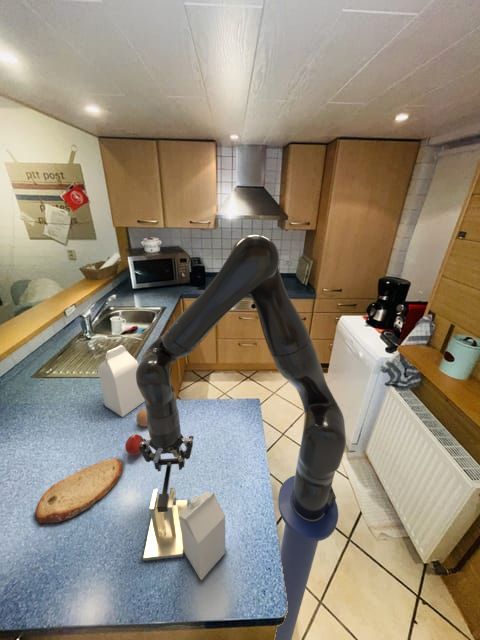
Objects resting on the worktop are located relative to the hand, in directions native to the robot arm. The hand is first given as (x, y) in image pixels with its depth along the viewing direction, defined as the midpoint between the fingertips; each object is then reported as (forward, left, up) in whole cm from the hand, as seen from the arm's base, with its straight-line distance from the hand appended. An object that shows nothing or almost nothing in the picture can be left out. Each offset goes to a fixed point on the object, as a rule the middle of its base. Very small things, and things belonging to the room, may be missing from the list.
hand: (170, 467), depth 69 cm
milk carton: (-10, +15, -10) cm, 21 cm away
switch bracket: (0, +10, -10) cm, 14 cm away
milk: (+25, -38, -10) cm, 46 cm away
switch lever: (0, +5, +1) cm, 5 cm away
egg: (+14, -25, -10) cm, 30 cm away
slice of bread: (+26, -2, -10) cm, 28 cm away
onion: (+14, -13, -10) cm, 21 cm away
